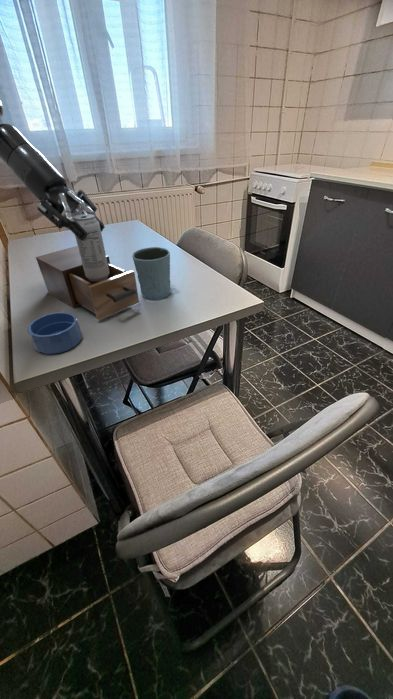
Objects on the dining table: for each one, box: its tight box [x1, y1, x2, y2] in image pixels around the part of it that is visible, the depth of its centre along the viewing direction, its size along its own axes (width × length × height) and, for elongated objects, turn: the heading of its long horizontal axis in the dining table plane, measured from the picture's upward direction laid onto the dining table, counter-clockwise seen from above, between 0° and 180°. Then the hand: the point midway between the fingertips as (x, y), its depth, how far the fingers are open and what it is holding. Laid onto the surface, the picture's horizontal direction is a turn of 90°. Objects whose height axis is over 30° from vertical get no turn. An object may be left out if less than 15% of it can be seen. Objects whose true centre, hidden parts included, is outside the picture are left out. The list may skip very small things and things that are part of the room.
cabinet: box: [35, 245, 111, 309], centre depth 86 cm, size 16×14×11 cm
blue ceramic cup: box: [131, 246, 172, 301], centre depth 83 cm, size 10×10×12 cm
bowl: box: [27, 311, 83, 355], centre depth 66 cm, size 10×10×5 cm
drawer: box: [66, 263, 140, 321], centre depth 77 cm, size 19×13×9 cm
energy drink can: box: [72, 213, 109, 282], centre depth 72 cm, size 6×6×15 cm
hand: (94, 233), depth 69 cm, fingers closed on energy drink can, 6 cm apart
